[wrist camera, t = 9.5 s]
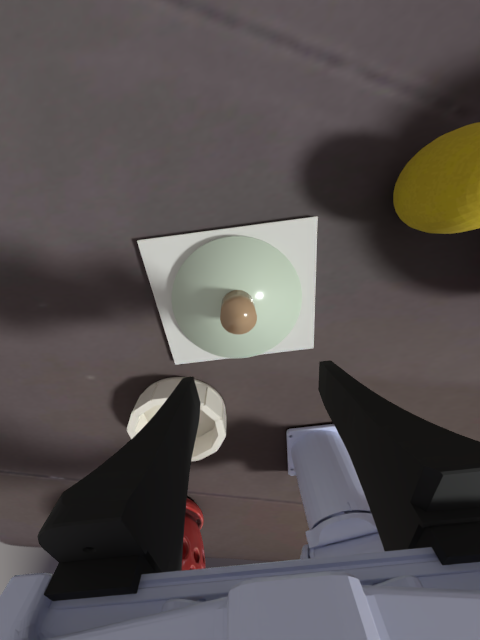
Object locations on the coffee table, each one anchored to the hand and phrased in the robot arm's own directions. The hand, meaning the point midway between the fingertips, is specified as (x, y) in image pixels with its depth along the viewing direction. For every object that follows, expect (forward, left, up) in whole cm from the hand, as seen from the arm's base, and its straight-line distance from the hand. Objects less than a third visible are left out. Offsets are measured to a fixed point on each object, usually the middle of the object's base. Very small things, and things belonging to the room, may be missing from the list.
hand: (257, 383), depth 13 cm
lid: (+2, +1, -9) cm, 9 cm away
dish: (-11, +9, -9) cm, 17 cm away
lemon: (+9, -13, -10) cm, 18 cm away
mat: (+2, +1, -9) cm, 10 cm away
